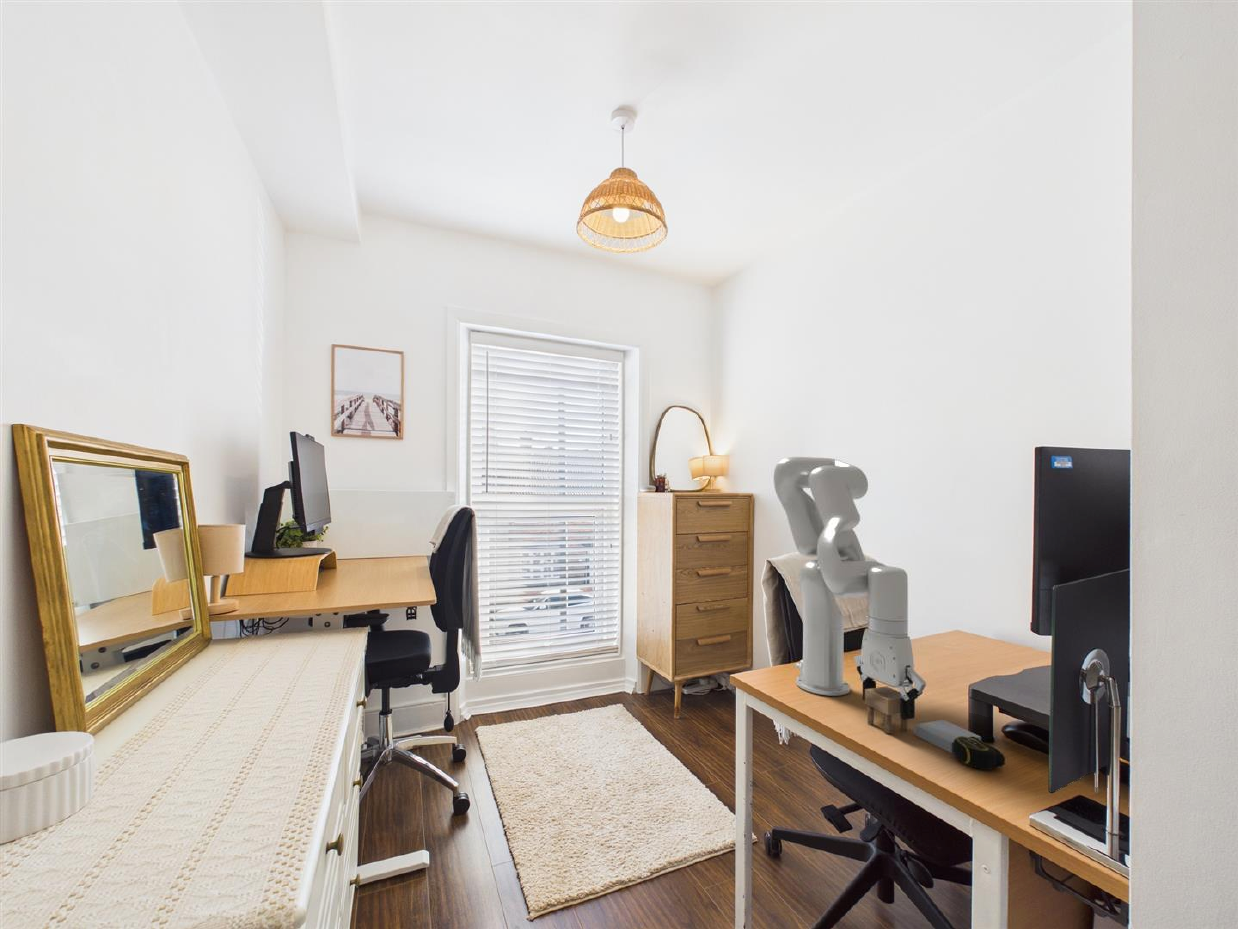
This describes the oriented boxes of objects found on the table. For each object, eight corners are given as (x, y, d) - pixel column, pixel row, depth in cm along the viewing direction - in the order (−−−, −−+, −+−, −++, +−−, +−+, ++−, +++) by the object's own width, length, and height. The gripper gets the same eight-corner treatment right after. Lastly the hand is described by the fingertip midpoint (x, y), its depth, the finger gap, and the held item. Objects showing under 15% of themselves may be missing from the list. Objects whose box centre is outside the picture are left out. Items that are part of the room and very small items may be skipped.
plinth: (914, 734, 109) (914, 724, 109) (943, 729, 111) (943, 719, 111) (951, 753, 101) (951, 742, 101) (981, 747, 104) (981, 736, 104)
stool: (864, 722, 114) (865, 689, 114) (886, 719, 116) (886, 686, 116) (888, 735, 108) (888, 700, 108) (910, 731, 110) (910, 696, 110)
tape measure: (1007, 773, 95) (1007, 751, 95) (972, 775, 94) (972, 753, 94) (976, 754, 101) (976, 734, 102) (943, 755, 101) (944, 735, 101)
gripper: (843, 617, 120) (842, 696, 119) (909, 638, 103) (909, 729, 103) (869, 615, 122) (868, 692, 121) (937, 635, 106) (938, 724, 105)
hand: (887, 709), depth 112 cm, fingers open, 9 cm apart
